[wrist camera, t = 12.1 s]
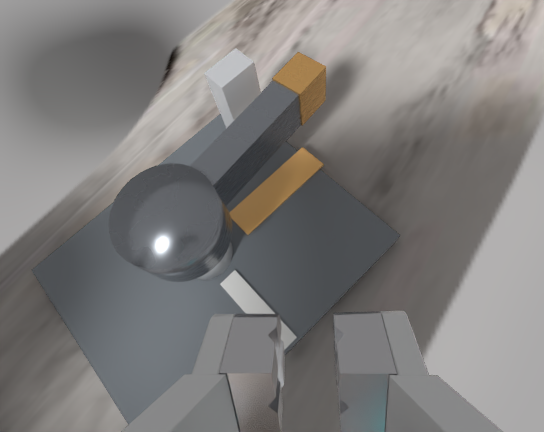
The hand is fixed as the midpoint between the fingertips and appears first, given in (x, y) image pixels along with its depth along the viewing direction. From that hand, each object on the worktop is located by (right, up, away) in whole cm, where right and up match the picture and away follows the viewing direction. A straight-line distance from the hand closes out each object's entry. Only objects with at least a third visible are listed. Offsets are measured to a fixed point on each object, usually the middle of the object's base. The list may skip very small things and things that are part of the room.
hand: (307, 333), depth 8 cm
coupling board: (-6, -1, +22) cm, 23 cm away
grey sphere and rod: (-3, +6, +18) cm, 19 cm away
